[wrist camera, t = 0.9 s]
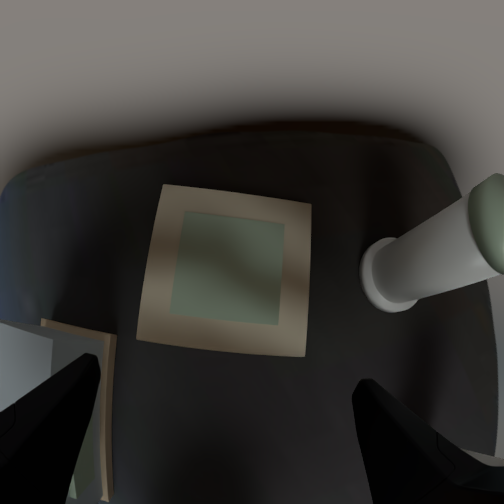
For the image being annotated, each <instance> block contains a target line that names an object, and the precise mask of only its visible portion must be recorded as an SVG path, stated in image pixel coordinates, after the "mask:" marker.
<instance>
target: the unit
mask: <svg viewBox="0 0 504 504" xmlns="http://www.w3.org/2000/svg"><path fill="white" fill-rule="evenodd" d="M116 342H117V335H114V334H109V333H104V332H99V331H95V330H90V329H86V328H81V327H77V326H73V325H69V324H65V323H61V322H57V321H53V320H48V319H43V318H42V319H41V326H38V325H31V324H25V323H19V322H13V321H7V320H1V319H0V412H1V411H2V410H4V409H5V408H7V407H8V406H10V405H11V404H13V403H15V401H17V400H18V399H20V398H21V397H23V396H24V395H25V394H27V393H28V392H30V391H31V390H32V389H34V388H35V387H37V386H38V385H40V384H41V383H42V382H44V381H45V380H47V379H48V378H50V377H51V376H52V375H54V374H55V373H57V372H58V371H60V370H61V369H62V368H64V367H65V366H67V365H68V364H70V363H71V362H72V361H74V360H75V359H77V358H78V357H80V356H81V355H83V354H84V353H90V354H94V355H96V356H97V357H98V361H99V366H100V370H101V379H100V383H99V387H98V391H97V395H96V400H95V404H94V409H93V413H92V416H91V420H90V423H89V425H88V428H87V431H86V434H85V437H84V440H83V444H82V447H81V450H80V453H79V456H78V460H77V463H76V466H75V470H74V473H73V477H72V480H71V484H70V487H69V491H68V495H67V499H66V503H65V504H98V502H99V501H100V500H104V501H107V502H109V501H110V499H111V497H112V496H113V494H114V488H113V472H112V395H113V377H114V364H115V352H116Z"/></svg>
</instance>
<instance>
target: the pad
mask: <svg viewBox="0 0 504 504" xmlns="http://www.w3.org/2000/svg"><path fill="white" fill-rule="evenodd" d="M310 252H311V204H308V203H302V202H296V201H289V200H283V199H277V198H270V197H263V196H256V195H249V194H242V193H235V192H227V191H219V190H211V189H203V188H194V187H185V186H176V185H166V184H163V187H162V192H161V196H160V200H159V205H158V209H157V214H156V218H155V223H154V228H153V233H152V238H151V243H150V248H149V254H148V259H147V265H146V271H145V277H144V283H143V290H142V297H141V304H140V311H139V319H138V327H137V336H136V339H137V340H143V341H149V342H155V343H161V344H168V345H175V346H182V347H189V348H197V349H206V350H214V351H224V352H234V353H246V354H259V355H274V356H293V357H305V349H306V335H307V320H308V302H309V281H310Z"/></svg>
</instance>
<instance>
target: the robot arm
mask: <svg viewBox="0 0 504 504" xmlns="http://www.w3.org/2000/svg"><path fill="white" fill-rule="evenodd" d="M100 379H101V370H100V366H99V361H98V357H97V356H96V355H94V354H90V353H84V354H83V355H81V356H80V357H78V358H77V359H75V360H74V361H72V362H71V363H70V364H68V365H67V366H65V367H64V368H62V369H61V370H60V371H58V372H57V373H55V374H54V375H52V376H51V377H50V378H48V379H47V380H45V381H44V382H42V383H41V384H40V385H38V386H37V387H35V388H34V389H32V390H31V391H30V392H28V393H27V394H25V395H24V396H23V397H21V398H20V399H18V400H17V401H15V403H13V404H11V405H10V406H8V407H7V408H5V409H4V410H2V411H1V412H0V504H65V503H66V499H67V495H68V491H69V487H70V484H71V480H72V477H73V473H74V470H75V466H76V463H77V460H78V456H79V453H80V450H81V447H82V444H83V440H84V437H85V434H86V431H87V428H88V425H89V423H90V420H91V416H92V413H93V409H94V404H95V400H96V395H97V391H98V387H99V383H100ZM352 404H353V411H354V418H355V425H356V432H357V437H358V441H359V445H360V449H361V453H362V457H363V461H364V465H365V469H366V474H367V478H368V482H369V487H370V491H371V496H372V500H373V504H504V466H490V465H486V464H484V463H482V462H480V461H479V460H477V459H476V458H474V457H472V456H471V455H469V454H468V453H466V452H464V451H463V450H461V449H460V448H458V447H457V446H455V445H454V444H453V443H451V442H450V441H449V440H447V439H446V438H445V437H443V436H442V435H441V434H440V433H438V432H436V430H434V429H433V428H432V427H431V426H429V425H428V424H427V423H426V422H425V421H423V420H422V419H421V418H420V417H418V416H417V415H416V414H415V413H413V412H412V411H411V410H410V409H408V408H407V407H406V406H405V405H404V404H402V403H401V402H400V401H399V400H397V399H396V398H395V397H394V396H393V395H391V394H390V393H389V392H388V391H387V390H385V389H384V388H383V387H382V386H380V385H379V384H378V383H377V382H376V381H374V380H373V379H371V378H366V379H361V380H360V381H359V383H358V385H357V386H356V388H355V390H354V392H353V394H352Z"/></svg>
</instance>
